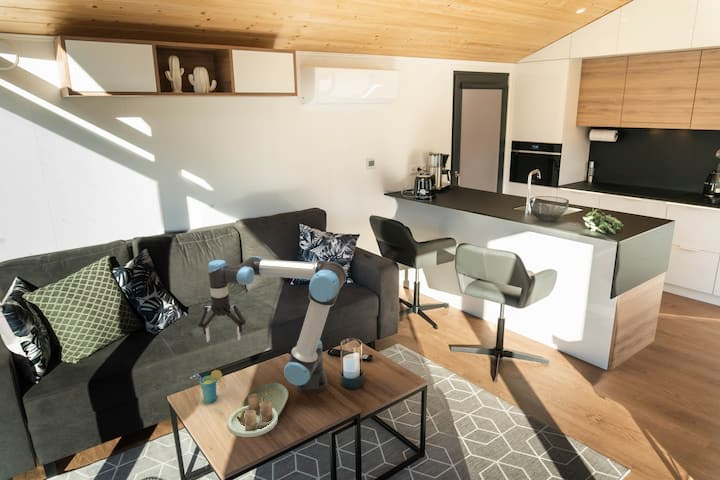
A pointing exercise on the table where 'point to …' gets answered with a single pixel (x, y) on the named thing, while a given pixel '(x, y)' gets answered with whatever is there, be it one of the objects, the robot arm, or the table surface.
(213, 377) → the cup
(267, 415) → the brown rounded cylinder
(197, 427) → the table surface
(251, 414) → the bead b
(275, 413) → the tray
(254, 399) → the brown stubby piece
